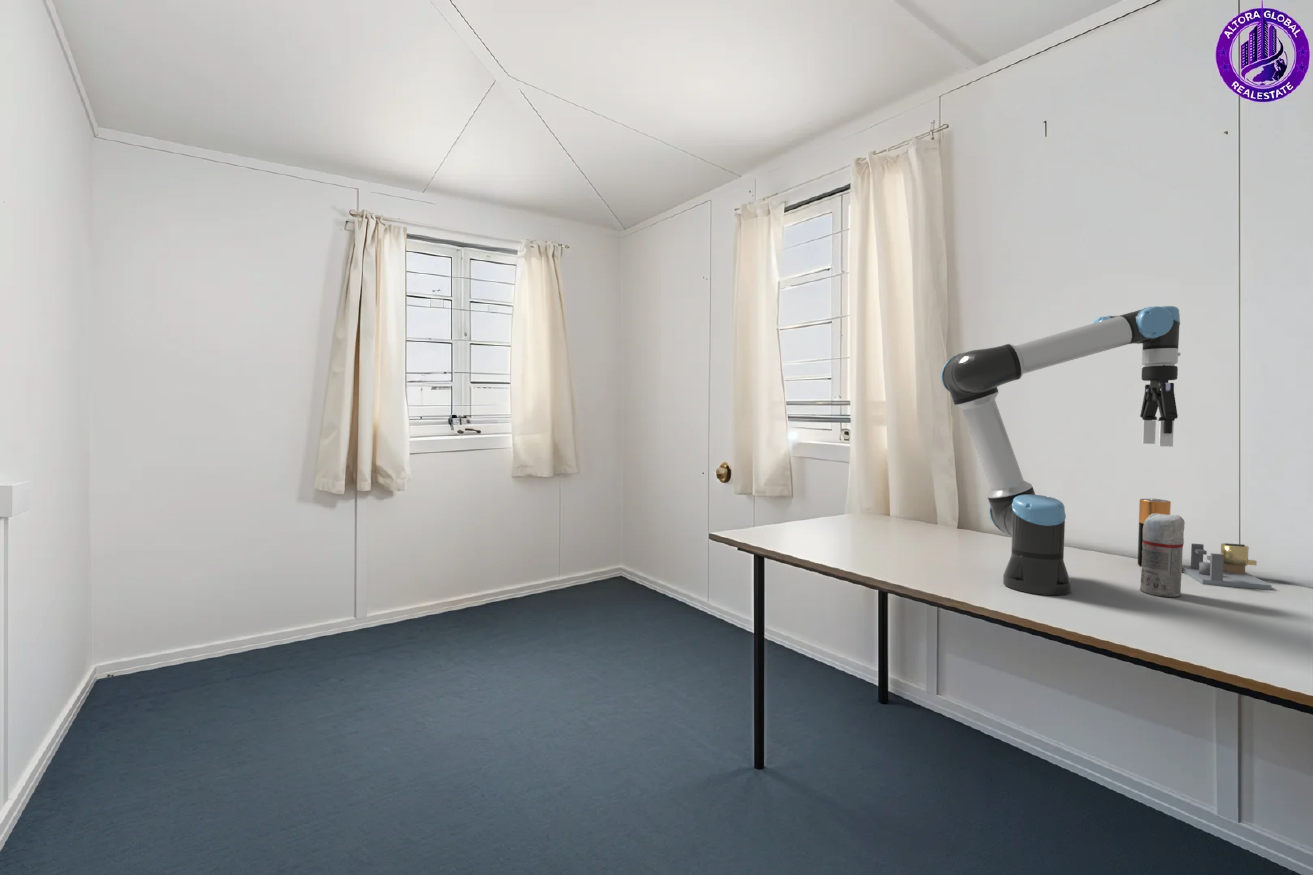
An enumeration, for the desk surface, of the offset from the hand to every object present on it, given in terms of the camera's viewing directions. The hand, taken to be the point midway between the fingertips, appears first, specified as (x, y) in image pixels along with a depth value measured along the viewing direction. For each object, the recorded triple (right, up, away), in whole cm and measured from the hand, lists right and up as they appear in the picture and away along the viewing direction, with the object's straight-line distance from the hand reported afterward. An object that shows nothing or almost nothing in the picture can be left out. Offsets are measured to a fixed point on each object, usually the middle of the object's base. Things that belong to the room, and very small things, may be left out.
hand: (1156, 445), depth 169 cm
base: (+20, -37, +3) cm, 42 cm away
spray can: (-7, -38, -10) cm, 40 cm away
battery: (+12, -36, +16) cm, 41 cm away
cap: (+26, -33, +5) cm, 42 cm away
